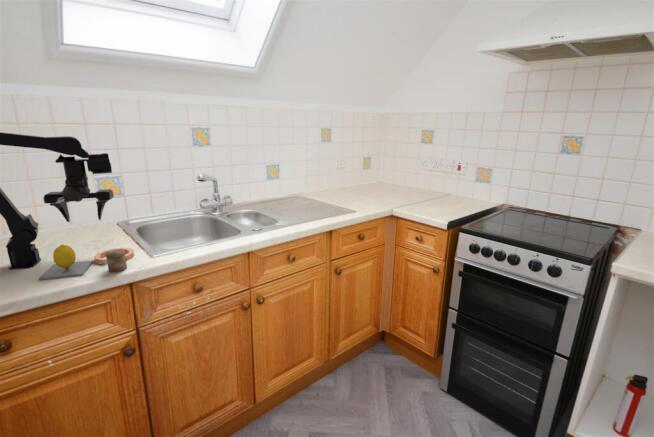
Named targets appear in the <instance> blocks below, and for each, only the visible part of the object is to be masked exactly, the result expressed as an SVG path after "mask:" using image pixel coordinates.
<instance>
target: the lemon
mask: <svg viewBox="0 0 654 437" xmlns="http://www.w3.org/2000/svg"><path fill="white" fill-rule="evenodd" d="M52 254H53V255H52V259H53V262H54V264H56V265H57V266H59V267H62V268H65V269H68V268H69V267H70V266H72V265H73V264H74V262H76V258H77V257H76V256H77V255H76V252H75V250H74V249H73V248H72V246H70V245H64V244H61V245H59V246H57V247H56V248H55V249H54V251H53V253H52Z"/></svg>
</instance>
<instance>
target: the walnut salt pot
mask: <svg viewBox="0 0 654 437" xmlns="http://www.w3.org/2000/svg"><path fill="white" fill-rule="evenodd" d="M125 255H126V253H125V250H124V249H115V250H110V251H108V252H106V253H105V258H107V268H108V272H109V273H121V272H124V271H126V270H127V268H128V264H127V261H126V258H125Z"/></svg>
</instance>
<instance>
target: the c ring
mask: <svg viewBox="0 0 654 437" xmlns="http://www.w3.org/2000/svg"><path fill="white" fill-rule="evenodd" d="M115 249H124V250H125V258H126V262H127V261H129V260H130V259H133V258H134V256H135V250H134V249H133V248H131V247H114V248H110V249H105V250H102V251H100V252H97V253H96V254H95V255H94V256H93V259H94V260H93V261H94V262H95V263H97V264H98V265H108V263H107V258H106V256H105V253H106V252H108V251H110V250H115ZM104 257H105V258H104Z"/></svg>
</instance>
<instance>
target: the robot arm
mask: <svg viewBox="0 0 654 437" xmlns="http://www.w3.org/2000/svg"><path fill="white" fill-rule="evenodd" d="M0 146H7V147H8V146H10V147H20V148H30V149H31V148H32V149H41V150H47V151H51V152H55V153H57V154H59V155H58V156H57V157H58V158H56V159H55V163H57V164H59V163H61V164H63V170H64V175H65V180H64V181H65V182H64V183H65V185H64V187H63V189H62V191H50V192H48V193H46V194H44V195H43V198H42V199H43V203H44V204H49V206H51V207H54V208H56V209H57V210H58V211H59V213H61V215H62V216H63V218H64V219H65V220H66V222H67V223H69V222H70V221H71V220H70V218H71V217H70V213H69V209H68V203H69V202H77V203H78V202H81V201H82V200H84V199H97V200H96V202H95V204H96V206H97V210H96V211H97V217H98V220H102V216H103V211H104V208H105V205H106V203H108V202H109V201H110V200H112V199H113V198H114V197H115V195H114V191H113V190H112V189H111V188H109V189H99V190H97V191H96V192H91V189H90V187H89V183H88V182H89V181H88V180H89V177H88V176H87V171H88V172H90V173H92V175H102V174H103V175H104V174H112V173H113V170H112V163H111V162H110V158H109V153H106V152H104V153H96V154H93V153H90V154H89V152H88V151H86V150H85V149H84V148H83V147H82V144H81V142H80V140H79V139H78V138H77V137H74V136H69V135H68V136H66V135H65V136H38V135H31V134H29V135H28V134H19V133H12V132H2V131H0ZM62 154H63V155H62ZM64 155H67V156H64ZM76 157H79V158H80V159H79V158H76ZM85 162H86V164H85ZM86 167H87V171H86ZM0 215H1V217H2V218H3V219H4V220H5V223H6V225H7V228H8V230H9V232H10V234H11V237H9V238H8V239H9V240H8V241H7V244H6V246H5V247H6V251H7V256H8V259H9V263H10V266H8V267H7V268H8V270H13V269H24V268H31V267H34V266H35V265H37V264H38V263H39V262H41V260H42V258H41V257H40V252H39V249H38V248H36V243H32V242H34V241H35V240H36V239H37V238H38V233H39V223H38V222H36V221H35V219H34V218H33V216H32V214H30V213H29V214H28V215H25V214H23V213H22V212H20V210H19V209H18V208H17V207H16V205H15V204H14V203H13V202H12V200H11V199H10V198H9V196H8V195H7V194H6V193H5V192H4V190H3V189H2V187H0Z"/></svg>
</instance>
